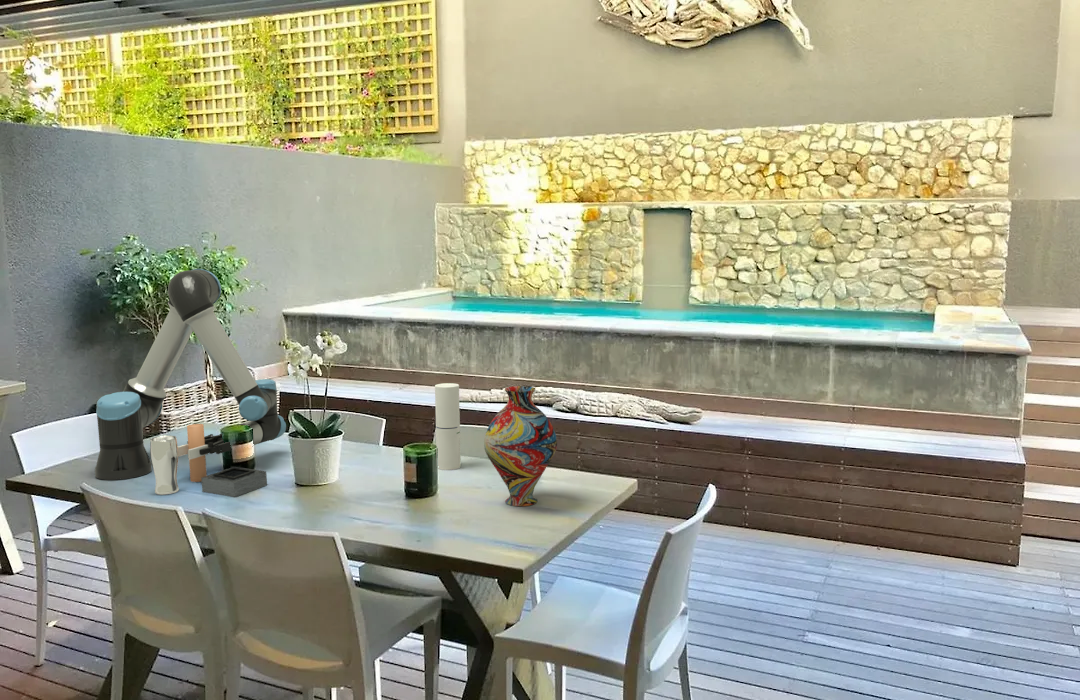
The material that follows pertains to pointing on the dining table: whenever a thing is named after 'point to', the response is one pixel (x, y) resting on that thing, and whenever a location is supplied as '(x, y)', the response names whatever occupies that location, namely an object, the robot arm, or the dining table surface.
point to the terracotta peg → (194, 441)
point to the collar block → (234, 481)
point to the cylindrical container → (448, 426)
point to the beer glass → (165, 463)
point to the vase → (520, 444)
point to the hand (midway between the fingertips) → (181, 453)
